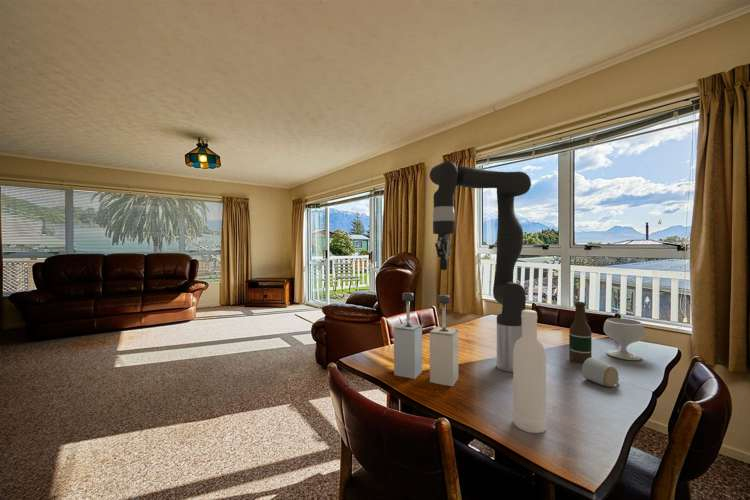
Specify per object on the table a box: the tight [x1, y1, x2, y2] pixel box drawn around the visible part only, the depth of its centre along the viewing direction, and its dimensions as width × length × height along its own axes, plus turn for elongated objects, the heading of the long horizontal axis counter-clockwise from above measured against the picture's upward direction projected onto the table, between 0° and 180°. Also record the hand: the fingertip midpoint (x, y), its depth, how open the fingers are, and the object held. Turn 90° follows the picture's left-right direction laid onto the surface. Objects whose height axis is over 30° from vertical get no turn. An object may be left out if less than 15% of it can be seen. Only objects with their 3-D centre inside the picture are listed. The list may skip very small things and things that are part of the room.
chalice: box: [603, 317, 646, 361], centre depth 135 cm, size 14×14×15 cm
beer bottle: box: [568, 301, 593, 365], centre depth 130 cm, size 8×8×24 cm
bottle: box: [512, 309, 547, 434], centre depth 83 cm, size 8×8×30 cm
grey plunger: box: [402, 292, 414, 327], centre depth 118 cm, size 6×6×15 cm
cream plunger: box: [437, 294, 451, 332], centre depth 112 cm, size 6×6×15 cm
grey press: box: [393, 322, 423, 380], centre depth 118 cm, size 8×8×18 cm
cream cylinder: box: [581, 357, 620, 388], centre depth 109 cm, size 11×8×8 cm
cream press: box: [429, 326, 459, 388], centre depth 112 cm, size 8×8×18 cm
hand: (443, 269), depth 112 cm, fingers closed
